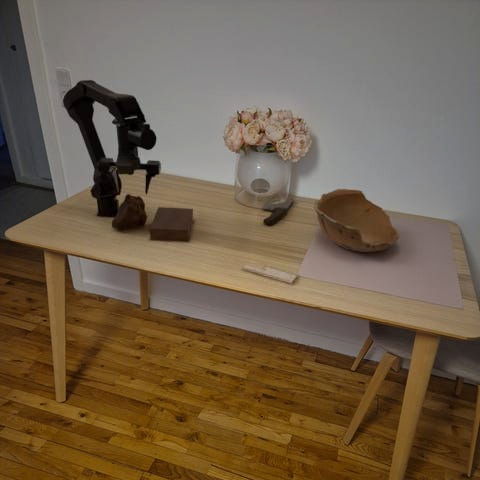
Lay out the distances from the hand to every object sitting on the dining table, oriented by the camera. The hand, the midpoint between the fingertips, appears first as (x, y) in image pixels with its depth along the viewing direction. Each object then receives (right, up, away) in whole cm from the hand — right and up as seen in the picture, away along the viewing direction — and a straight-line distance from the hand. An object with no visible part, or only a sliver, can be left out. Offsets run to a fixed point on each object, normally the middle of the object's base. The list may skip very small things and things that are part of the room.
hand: (132, 193), depth 140 cm
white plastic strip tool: (+44, -27, -14) cm, 53 cm away
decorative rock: (-2, -10, +6) cm, 12 cm away
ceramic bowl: (+72, -14, +7) cm, 74 cm away
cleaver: (+48, 0, +25) cm, 54 cm away
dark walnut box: (+12, -10, +6) cm, 17 cm away
